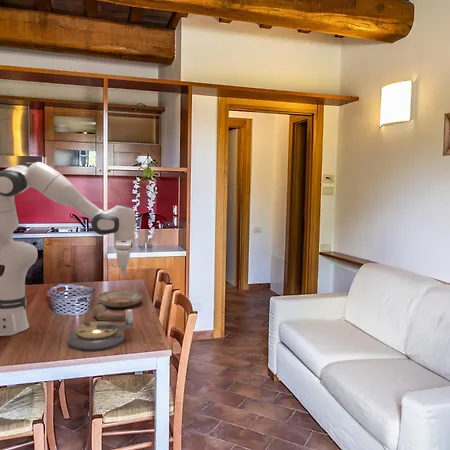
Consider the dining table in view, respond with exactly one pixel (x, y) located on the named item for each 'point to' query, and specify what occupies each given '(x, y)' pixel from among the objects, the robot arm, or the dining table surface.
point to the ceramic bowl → (119, 298)
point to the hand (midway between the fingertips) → (123, 274)
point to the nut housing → (96, 342)
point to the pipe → (106, 314)
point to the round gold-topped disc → (103, 328)
